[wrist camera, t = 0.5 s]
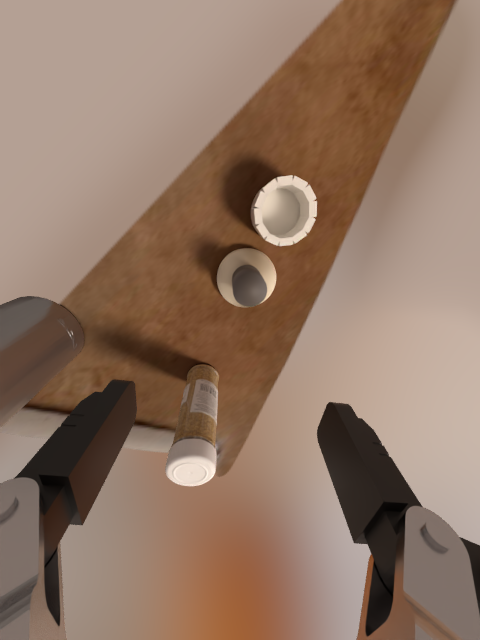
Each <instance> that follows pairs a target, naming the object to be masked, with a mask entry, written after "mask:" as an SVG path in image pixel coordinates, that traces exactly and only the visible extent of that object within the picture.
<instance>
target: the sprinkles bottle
mask: <svg viewBox="0 0 480 640" xmlns="http://www.w3.org/2000/svg"><path fill="white" fill-rule="evenodd" d="M218 379H219V375H218V372H217V371H216V369H214V368H213V367H212V366H209V365H205V364H201V365H196V366H194V367H192V368H191V369H190V371H189V372H188V374H187V383H186V387H185V390H184V394H183V398H182V403H181V408H180V413H179V419H178V424H177V428H176V433H175V437H174V441H173V444H172V446H171V448H170V450H169V454H168V459H167V463H166V469H165V470H166V474H167V476H168V478H169V479H170V480H171V481H173V482H174V483H177V484H179V485H184V486H197V485H201V484H204V483H206V482H207V481H209V480H210V479H211V478H212V477H213V476H214V474H215V470H216V450H215V436H216V426H217V404H218V390H217V389H218Z"/></svg>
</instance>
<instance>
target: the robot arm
mask: <svg viewBox="0 0 480 640" xmlns="http://www.w3.org/2000/svg"><path fill="white" fill-rule="evenodd" d="M83 345H84V334H83V331H82V328H81V326H80V324H79V322H78V321H77V319H76V318H75V317H74V316H73V315H72V314H71V313H70V312H69V311H68V310H66V309H65V308H64V307H62V306H61V305H59V304H57V303H55V302H53V301H50V300H48V299H44V298H40V297H32V296H27V297H20V298H17V299H15V300H12V301H10V302H7V303H4V304H2V305H0V428H1V427H2V426H3V425H4V424H5V423H7V422H8V421H9V420H10V419H11V418H12V417H13V416H14V415H15V414H16V413H17V412H18V411H19V410H20V409H21V408H22V407H23V406H24V405H25V404H26V403H28V402H29V401H30V400H31V399H32V398H33V397H34V396H35V395H36V394H37V393H38V392H39V391H40V390H41V389H42V388H43V387H44V386H45V385H46V384H47V383H48V382H50V381H51V380H52V379H53V378H54V377H55V376H56V375H57V374H58V373H59V372H60V371H61V370H62V369H63V368H64V367H65V366H66V365H67V364H68V363H70V362H71V361H72V360H73V359H74V358H75V357H76V356H77V355H78V354H79V353H80V352H81V350H82V348H83ZM136 412H137V407H136V393H135V383H134V382H133V381H124V380H112V381H111V382H110V383H109V384H108V385H107V387H106V388H105V389H104V390H103V392H94V393H93V394H91V395H90V396H88V397H87V398H85V399H84V400H82V401H81V402H80V403H79V404H78V405H77V406H76V408H75V409H74V410H73V411H72V412H71V413H70V416H68V417H67V418H66V419H65V421H64V422H63V423H62V424H61V427H59V428H58V429H57V430H56V431H55V432H54V433H53V435H52V436H51V437H50V438H49V439H48V440H47V442H46V443H45V444H44V445H43V446H42V447H41V449H40V450H39V451H38V452H37V453H36V454H35V456H34V457H33V458H32V459H31V460H30V462H29V463H28V464H27V465H26V466H25V468H24V469H23V470H22V471H21V472H20V473H19V474H18V475H17V476H16V477H15V478H14V479H11V480H8V481H5V482H3V483H0V640H67V638H66V631H65V622H64V602H63V583H62V565H61V545H60V540H61V539H62V537H63V535H64V533H65V531H66V529H67V528H68V526H69V524H73V525H74V524H75V525H83V523H84V521H85V519H86V517H87V515H88V513H89V511H90V509H91V508H92V505H93V504H94V502H95V499H96V498H97V496H98V494H99V492H100V490H101V487H102V486H103V484H104V482H105V480H106V478H107V476H108V474H109V472H110V470H111V468H112V466H113V464H114V462H115V460H116V458H117V456H118V454H119V452H120V450H121V448H122V446H123V444H124V442H125V440H126V438H127V436H128V434H129V432H130V430H131V428H132V426H133V424H134V421H135V418H136ZM317 437H318V443H319V446H320V448H321V451H322V454H323V457H324V460H325V463H326V465H327V468H328V471H329V474H330V477H331V479H332V482H333V485H334V488H335V490H336V494H337V496H338V499H339V502H340V505H341V508H342V510H343V513H344V516H345V519H346V522H347V524H348V527H349V530H350V533H351V536H352V538H353V541H354V543H359V544H368V546H369V548H370V551H371V555H370V557H369V561H368V568H367V576H366V583H365V589H364V596H363V603H362V610H361V617H360V623H359V630H358V636H357V639H356V640H480V546H479V545H477V544H475V543H472V542H470V541H468V540H465V539H463V538H460V537H459V536H458V535H457V534H456V532H455V531H454V530H453V529H452V528H451V527H450V525H449V524H447V523H446V522H445V521H444V520H443V519H442V518H441V517H439V516H438V515H436V514H435V513H434V512H432V511H430V510H428V509H426V508H423V507H422V505H421V504H420V502H419V501H418V499H417V498H416V496H415V495H414V493H413V492H412V490H411V488H410V487H409V485H408V484H407V482H406V481H405V479H404V477H403V476H402V474H401V473H400V471H399V470H398V468H397V466H396V465H395V463H394V462H393V460H392V458H391V457H389V454H388V452H387V451H386V449H385V447H384V446H382V443H381V441H380V440H379V438H378V436H377V435H376V433H375V432H374V430H373V429H372V428H371V427H370V426H369V425H368V424H367V423H366V422H365V421H364V420H363V419H360V418H358V417H357V416H356V414H355V412H354V411H353V409H352V407H351V406H350V405H348V404H343V403H333V402H329V403H328V404H327V406H326V409H325V411H324V414H323V416H322V419H321V421H320V424H319V426H318V430H317Z"/></svg>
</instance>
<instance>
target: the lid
mask: <svg viewBox="0 0 480 640" xmlns="http://www.w3.org/2000/svg"><path fill="white" fill-rule="evenodd" d="M275 284H276V271H275V268H274V265H273V263H272V262H271V260H270V259H269V258H268V257H267V256H266V255H265V254H264V253H262V252H261V251H259V250H256V249H253V248H240V249H237V250H234V251H232V252H231V253H229V254H228V255H227V256H226V257H225V258H224V259H223V260H222V262H221V264H220V266H219V268H218V273H217V285H218V288H219V291H220V293H221V294H222V296H223V297H224V298H225V299H226V300H227V301H228V302H230V303H231V304H233V305H235V306H239V307H253V306H256V305H258V304H260V303H262V302H264V301H265V300H266V299H267V298H268V297H269V296H270V295H271V293H272V291H273V289H274V287H275Z"/></svg>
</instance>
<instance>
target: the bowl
mask: <svg viewBox="0 0 480 640" xmlns="http://www.w3.org/2000/svg"><path fill="white" fill-rule="evenodd" d="M307 184H308V183H307V182H305V181H304V180H302V179H300V178H298V177H296V176H292V175H290V176H282V177H277V178H274V179H273V180H272V181H270V182H269V183H268V184H266V185H265V186H264V187H263V188H262V189H260V190H259V191H258V193H257V194H256V196H255V198H254V200H253V203H252V206H251V220H252V224H253V227H254V228H255V230H256V232H257V233H258V234H259V236H261V237H262V238H263V239H264V240H266V241H268V242H270V243H272V244H275V245H277V246H278V245H279V246H285V245H293V243H297V242H298V241H300V240H301V239H302V238H304V237H305V236H306V235H307V234H306V233H309V231H310V229H311V228H312V226H313V224H314V222H315V220H316V219H314V218H312V217H317V201H314V200H315V199H316V196H315V194H314V192H313V190H312V188H311V187H310V185H307ZM312 201H313V202H312ZM305 232H306V233H305Z"/></svg>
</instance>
